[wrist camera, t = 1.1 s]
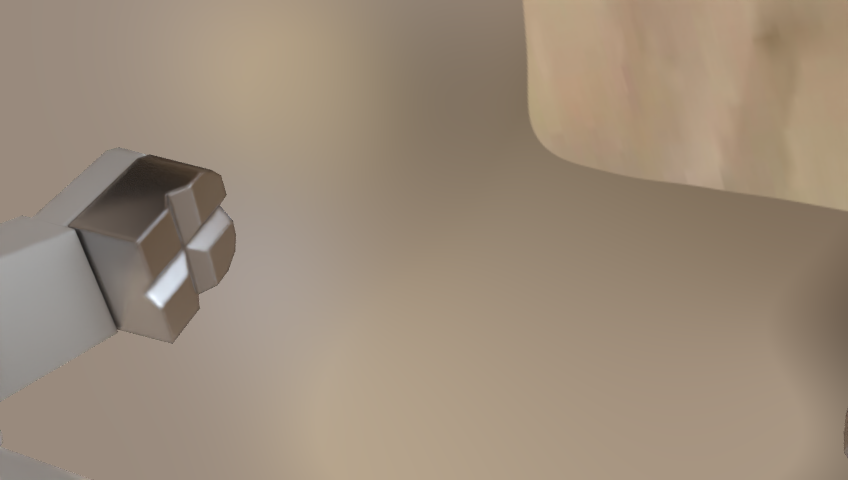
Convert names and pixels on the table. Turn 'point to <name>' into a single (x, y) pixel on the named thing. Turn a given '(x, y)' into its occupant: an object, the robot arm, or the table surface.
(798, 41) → the table surface
